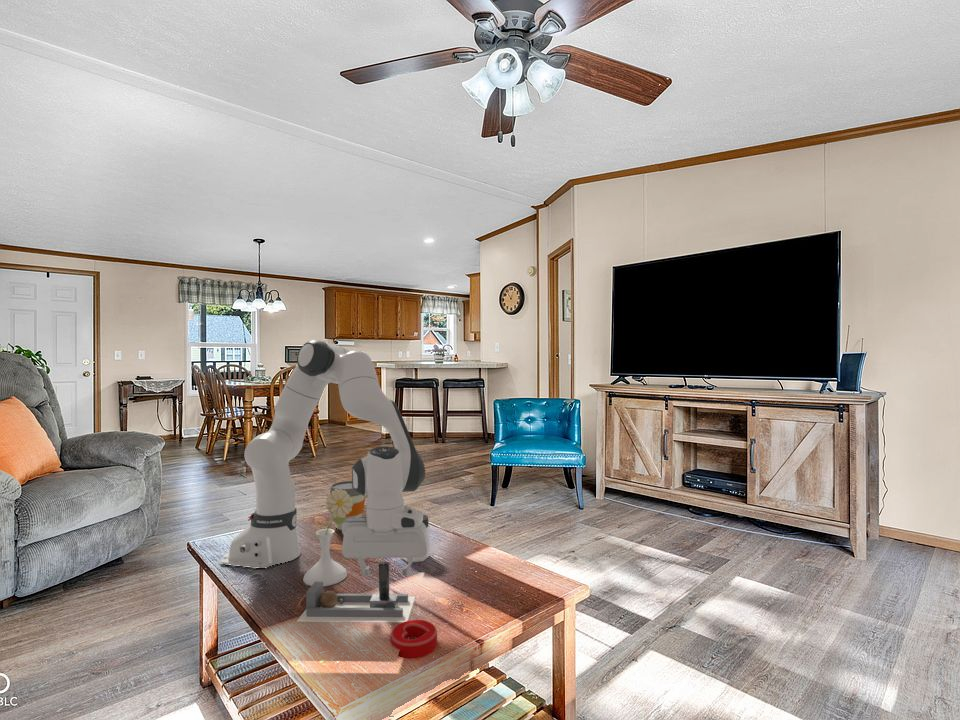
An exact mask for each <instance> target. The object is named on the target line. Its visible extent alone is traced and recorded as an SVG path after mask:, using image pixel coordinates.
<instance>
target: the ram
mask: <svg viewBox="0 0 960 720" xmlns="http://www.w3.org/2000/svg"><path fill="white" fill-rule="evenodd" d="M372 594H373V595H372V597H371V599H370V608H397V606H398V594H399V593H390V562H389V561H380V562H379V563H378V593H372Z"/></svg>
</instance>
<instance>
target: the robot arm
mask: <svg viewBox="0 0 960 720" xmlns="http://www.w3.org/2000/svg"><path fill="white" fill-rule="evenodd" d="M296 361H297V365H296V366H295V367H294V369H293V371H292V372H291V373H290V375H289V377H288V379H287V380H286V382H285V384H284V386H283V388H282V391H281V393H280V395H279V397H278V400H277V401H276V404H275V405H274V414H273V415H274V416H273V419H272V422H271V423H272V424H271V426H270V427H269V429H268V431H266V432H263V433H261V434H258V435H257V436H255V437H254V438H253V439H252V440H251V441H250V442H248V444H247V445H246V446H245V448H244V460H245V462H246V464H247V466H248V467H250V469H251V472H252V476H253V480H254V483H255V491H256V492H255V494H256V495H255V497H256V498H255V499H256V500H255V502H256V504H255V505H256V509H255V510H254V512H253V513H251V514H250V516H248V517H247V521H248V522H250V524H249V525H248V526H247V527H245V528H244V529H243V530H241V531H240V533H238V534H237V535H235V537H234V538H232V540H231V542H230V546H229V551H228V552H226V553H225V554H224V555H223V556H222V557H221V559H220V564H221V563H222V564H231V565H240V566H250V567H259V568H265V567H269V566H271V567H273V566H272V565H274V566H276V565H275V564H278V565H281V564H280V563H282V564H286V563H288V561H289V562H290V561H293V560H295V559H297V558H299V557H300V556H301V554H302V551H301V550H302V549H301V548H300V547H301V546H300V544H299V541H298V540H299V539H298V534H297V533H298V532H297V523H298V512H297V511H298V510H297V507H296V484H295V483H296V482H295V481H294V480H293V478H292V475H291V471H290V463H289V462H290V461H291V460H293V459H295V457H297V456H298V454H299V453H300V452H301V450H302V449H303V445H304V439H305V437H306V433H307V429H308V426H309V423H310V421H311V419H312V416H313V414H314V412H315V410H316V407H317V406H318V404H319V402H320V399H321V397H322V396H323V393H324V391H325V389H326V387H327V385H329V384H330V383H331V384H336V385H337V386H338V391H339V392H338V393H339V399H340V402H341V405H342V407H343V409H344V410H345V412H346V413H348V414H349V415H351V416H352V417H353V418H355V419H356V418H357V419H358V420H362V421H367V422H371V423H374V424H377V425H379V426H381V427H383V428H385V430H386V431H387V432H388V434H389V436H390V439H391V441H392V443H393V446H394V447H392V446H387V445H384V446H383V445H382V446H381V445H380V446H375V447H373V448H371V449H369V451H368V452H367V455H366V456H365V457H361V458H359V459H357V461H356V462H355V463H354V464H353V465H352V467H351V481H352V488H353V489H354V490H355V491H356V492H358V493H359V494H361V495H363V496H364V497H365V496H366V497H367V498H366V499H367V500H366V504H365V510H366V511H365V512H366V513H365V516H362V517H355V518H354V517H349V518H348V519H346V520H344V521H343V523H342V530H341V532H342V533H341V534H342V535H343V540H342V545H341V546H342V548H341V555H342V556H343V557H344V559H356V560H357V564H358V565H359V567H360V569H361V570H362V577H370V575H371V566H368V565H367V563H366V562H365V560H366V559H390V558H391V559H397V558H398V559H399V558H401V559H402V558H407V561H406V562H407V565H403V566H402V570H401V571H402V577H404V576H405V577H409V576H410V573H411V572H410V571H411V570H410V569H411V566H412V564H413V563H414V562H413V560H414V558H418V557H425V556H426V555H427V553H428V551H429V540H428V533H427V528H426V526H425V524H424V523H423V522H422V521H423V515H424V513H423V511H421V510H419V509H416V508H412V507H408V506H407V505H405V501H404V497H403V493H405V492H406V493H407V492H409V493H410V492H415V491H417V490H418V489H419V488H420V486H422V484H423V483H424V480H425V478H426V467H425V463H424V461H423V459H422V457H421V455H420V454H419V452H418V450H417V449H416V447H415V444H414V442H413V438H412V437H411V435H410V432H409V429H408V427H407V425H406V423H405V420H404V418H403V416H402V415H403V414H401V411H400V409H399V407H398V405H397V404H396V403H395V401H394V400H391V399H390V398H388V397H387V396H386V394H385V393H384V391H383V390H382V388H381V386H380V381H379V377H378V375H377V370H376V368H375V365H374V363H373V361H372V358H371V357H370V356H369V354H367V353H366V352H364V351H361V350H352V351H351V350H350V349H348V348H345V347H343V346H338V345H335V344H331V343H327V342H325V341H323V340H316V339H311V340H308V341H306V342H305V343H304V344H303V345H302V346H301V347H300V349H299V351H298V353H297V358H296ZM346 521H348V522H346ZM285 562H286V563H285ZM269 568H270V567H269ZM265 569H266V568H265Z"/></svg>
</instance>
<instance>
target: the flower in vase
mask: <svg viewBox="0 0 960 720" xmlns="http://www.w3.org/2000/svg"><path fill="white" fill-rule="evenodd" d="M325 505H326V507H325V509H326V510H327V511H328V513H329V514H330V516H331V517H332V518H331V521H330V523H329V524H328V523H323V522H320V521H317V520H316V523H317V525H320V526H324V527H327V528H323V529H322V528H321V529H318V530H316V532H315V535H316V536H317V538H318V540H319V544H320V557H319V560H318V561H317V562H316V563H315V564H314V565H313V566H312V567H311V568H309V570H307V571H306V573H304V576H303V579H302V580H303V583H304V584H305V585H306V586H310V587H311V586H312V585H313V584H314V582H323V587H329V586H333V585H336V584H339V583H341V582H342V581H344V580H345V579H346V578H347V576H348V572H347V569H346V568H345V567H344V566H342V565H341V564H340V563H338V562H337V561H335V560H334V559H332V557H331V554H330V550H331V549H330V547H331V540H332V537H333V535H334V533H335V530H334V529H333V528H331V525H332V524H333V522H334V524H335V523H336V524H338V525H341V524H342V523H343V521H344V520H346V519H347V518H346V517H345V516H346V514H349V512H350V511H352V508H351V507H352V506H353V504H352V498H350V495H348V494H347V492H346V491H345V490H343V491H342V489H340V490H337V489H335V490H334V491H332V493H331V494H330V493H328V494H327V497H326V502H325ZM334 517H335V518H334ZM346 522H347V521H346Z"/></svg>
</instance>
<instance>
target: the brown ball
mask: <svg viewBox="0 0 960 720" xmlns="http://www.w3.org/2000/svg"><path fill="white" fill-rule="evenodd" d="M337 594H338V593H336V591H335V590H334V591H333V590H325V592H324V591H323V594H322V596H321V598H320V604H321V606H322V607H323V608H333V607H334V606H335V605H336V603H337V600H338V598H337Z"/></svg>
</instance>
